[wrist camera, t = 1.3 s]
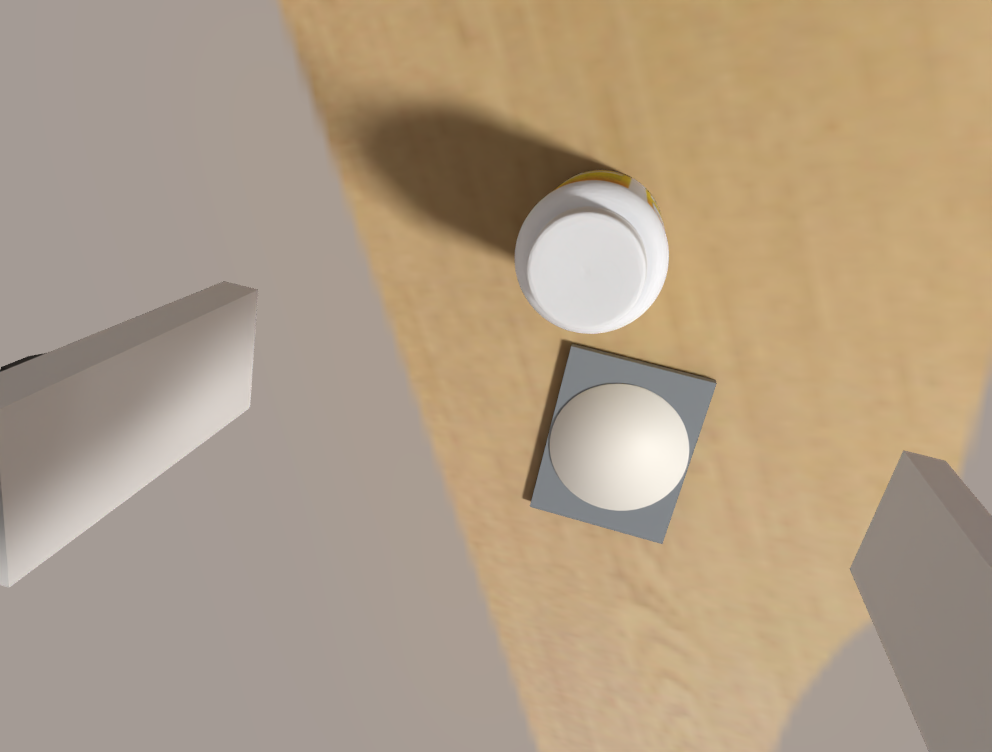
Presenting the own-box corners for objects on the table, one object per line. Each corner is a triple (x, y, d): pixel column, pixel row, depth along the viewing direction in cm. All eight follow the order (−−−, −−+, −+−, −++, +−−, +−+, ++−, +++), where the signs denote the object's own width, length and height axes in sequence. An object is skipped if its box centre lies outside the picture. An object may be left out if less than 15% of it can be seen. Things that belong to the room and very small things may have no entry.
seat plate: (572, 343, 35) (570, 346, 35) (715, 380, 35) (716, 384, 34) (531, 501, 39) (529, 507, 38) (661, 538, 38) (662, 544, 37)
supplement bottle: (516, 235, 34) (468, 276, 25) (598, 141, 32) (580, 146, 23) (603, 315, 35) (588, 385, 25) (689, 227, 33) (709, 267, 23)
